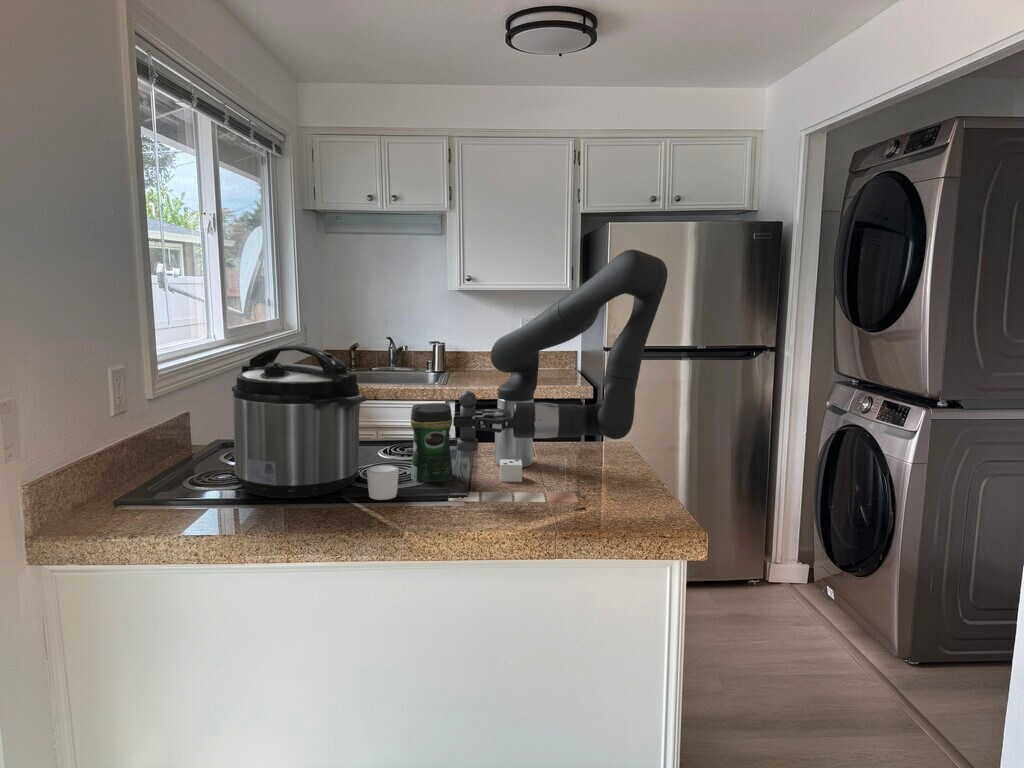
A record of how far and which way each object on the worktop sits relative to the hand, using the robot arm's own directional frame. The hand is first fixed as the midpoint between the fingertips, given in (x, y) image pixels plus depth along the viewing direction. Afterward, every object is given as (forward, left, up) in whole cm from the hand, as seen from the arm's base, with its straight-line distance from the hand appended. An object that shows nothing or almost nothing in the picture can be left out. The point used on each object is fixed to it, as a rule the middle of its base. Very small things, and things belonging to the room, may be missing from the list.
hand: (454, 419), depth 145 cm
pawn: (+2, +2, -6) cm, 7 cm away
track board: (+8, +10, -18) cm, 22 cm away
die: (-3, +19, -18) cm, 26 cm away
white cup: (-9, -12, -18) cm, 24 cm away
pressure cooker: (-31, -21, -18) cm, 42 cm away
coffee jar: (-15, +4, -18) cm, 24 cm away
